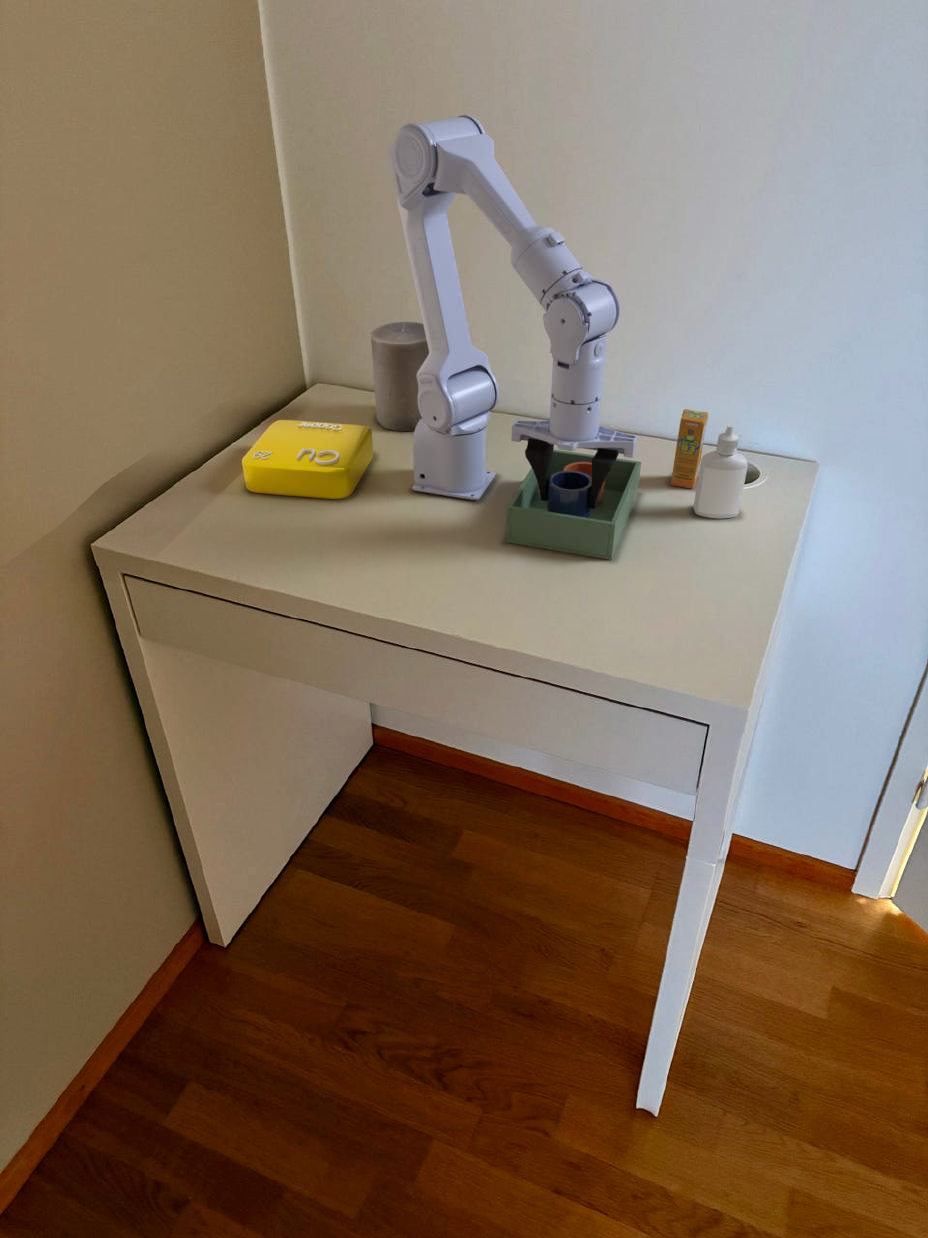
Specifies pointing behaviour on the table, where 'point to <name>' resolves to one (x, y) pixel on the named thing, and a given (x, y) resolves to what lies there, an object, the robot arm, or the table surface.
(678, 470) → the supplement box
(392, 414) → the pillar candle
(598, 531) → the sage tub
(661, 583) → the table surface
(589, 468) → the terracotta cup
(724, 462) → the eye dropper bottle
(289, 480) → the element tile
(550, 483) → the navy cup
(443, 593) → the table surface
